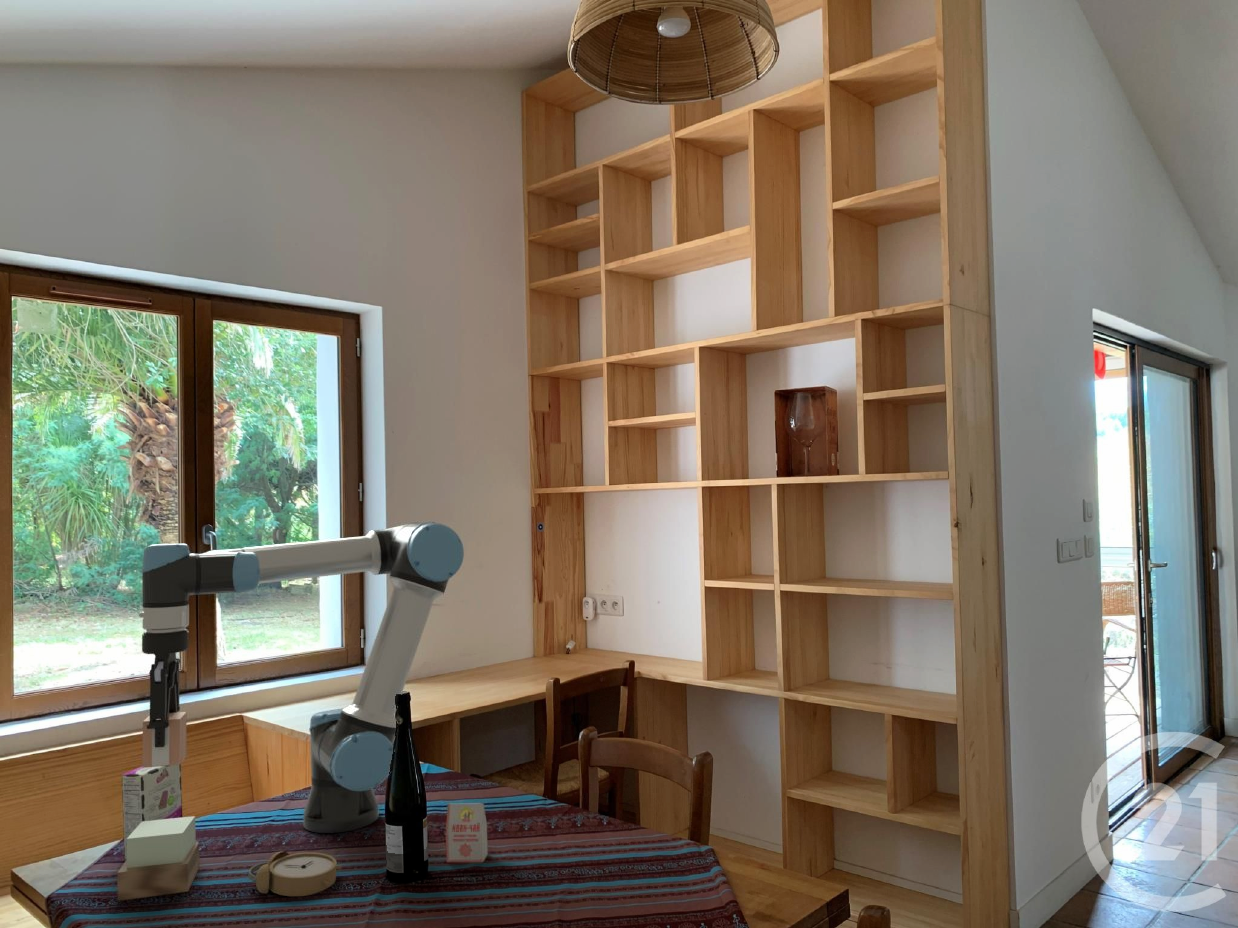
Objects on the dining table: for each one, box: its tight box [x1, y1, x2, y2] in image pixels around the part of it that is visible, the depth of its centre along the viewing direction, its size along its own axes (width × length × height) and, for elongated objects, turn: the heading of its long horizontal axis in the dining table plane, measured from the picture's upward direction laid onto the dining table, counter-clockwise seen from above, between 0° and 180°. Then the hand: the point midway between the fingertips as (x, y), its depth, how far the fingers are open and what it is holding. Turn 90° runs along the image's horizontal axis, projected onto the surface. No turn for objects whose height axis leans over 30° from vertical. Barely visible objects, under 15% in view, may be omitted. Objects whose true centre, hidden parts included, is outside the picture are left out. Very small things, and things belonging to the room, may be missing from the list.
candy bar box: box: [121, 763, 183, 861], centre depth 179 cm, size 11×5×16 cm, turn 168°
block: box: [141, 711, 188, 768], centre depth 164 cm, size 6×6×8 cm
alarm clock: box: [248, 850, 343, 897], centre depth 161 cm, size 11×5×15 cm
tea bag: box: [445, 802, 489, 863], centre depth 170 cm, size 4×7×10 cm, turn 85°
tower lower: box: [116, 841, 200, 902], centre depth 163 cm, size 11×11×5 cm
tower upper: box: [127, 815, 197, 868], centre depth 164 cm, size 9×9×5 cm
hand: (164, 759), depth 164 cm, fingers closed on block, 6 cm apart
